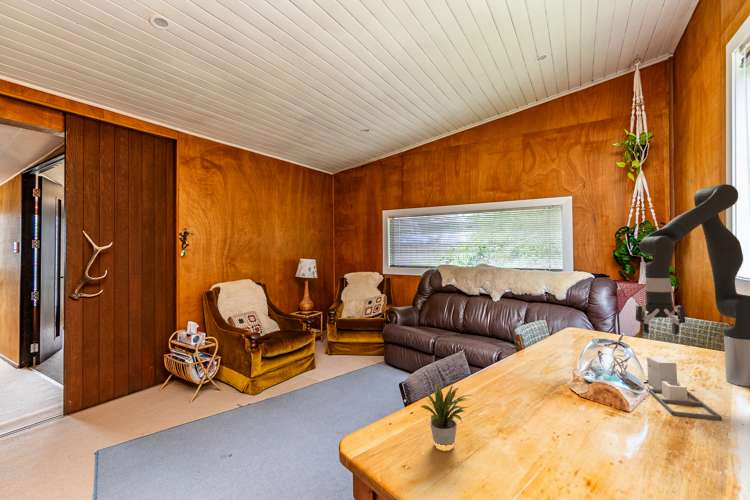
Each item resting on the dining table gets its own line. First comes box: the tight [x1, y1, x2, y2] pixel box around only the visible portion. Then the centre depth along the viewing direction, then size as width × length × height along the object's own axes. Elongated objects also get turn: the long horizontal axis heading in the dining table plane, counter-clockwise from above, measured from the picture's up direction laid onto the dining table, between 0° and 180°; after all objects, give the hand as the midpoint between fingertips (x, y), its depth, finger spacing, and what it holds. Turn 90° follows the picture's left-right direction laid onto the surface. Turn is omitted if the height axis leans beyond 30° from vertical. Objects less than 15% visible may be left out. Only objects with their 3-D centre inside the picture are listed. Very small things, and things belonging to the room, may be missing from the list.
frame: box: [645, 379, 723, 421], centre depth 120 cm, size 30×12×1 cm, turn 159°
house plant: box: [419, 383, 471, 446], centre depth 93 cm, size 14×14×16 cm
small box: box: [646, 356, 678, 390], centre depth 129 cm, size 8×6×10 cm
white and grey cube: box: [661, 381, 688, 401], centre depth 120 cm, size 5×5×5 cm
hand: (660, 333), depth 130 cm, fingers open, 8 cm apart
